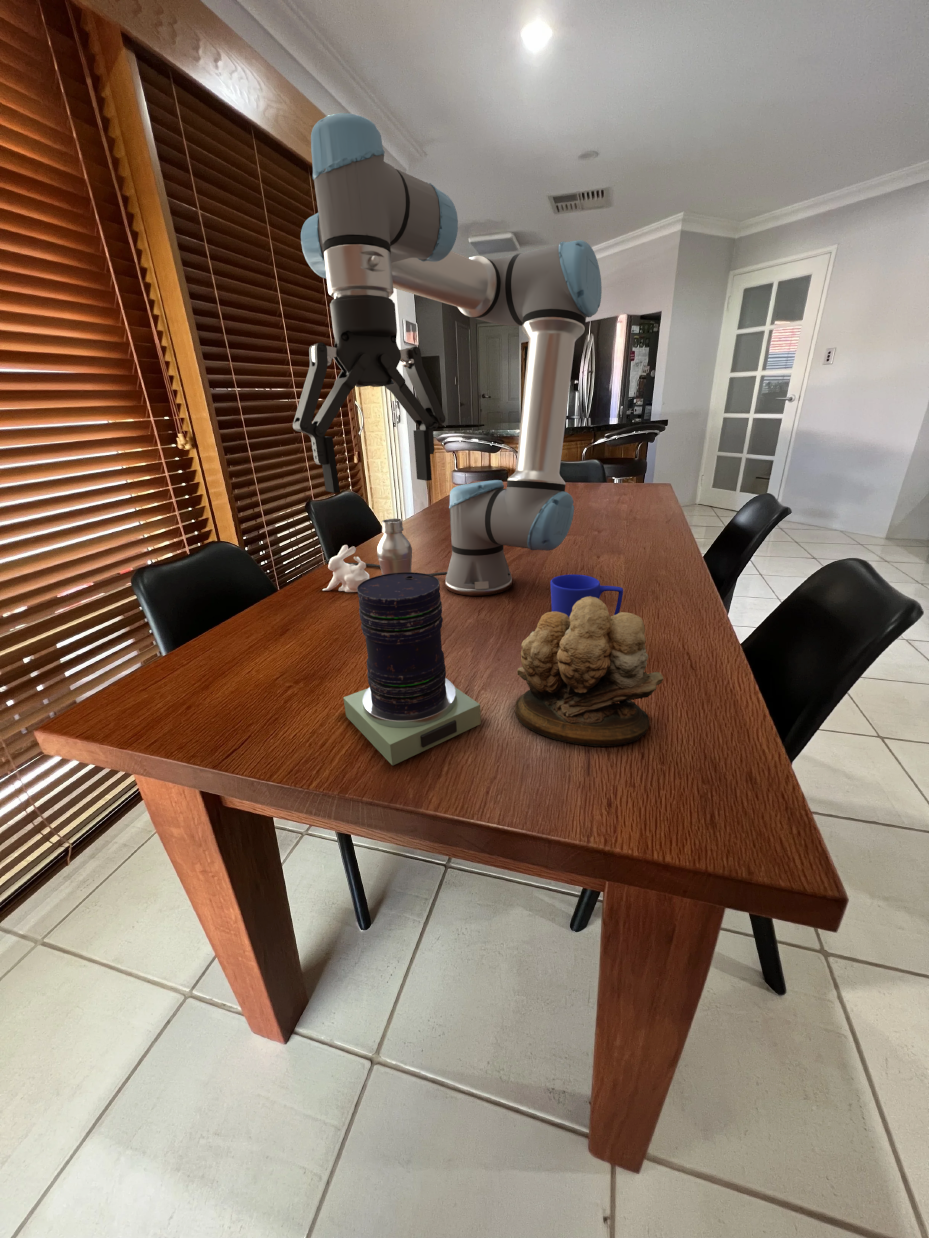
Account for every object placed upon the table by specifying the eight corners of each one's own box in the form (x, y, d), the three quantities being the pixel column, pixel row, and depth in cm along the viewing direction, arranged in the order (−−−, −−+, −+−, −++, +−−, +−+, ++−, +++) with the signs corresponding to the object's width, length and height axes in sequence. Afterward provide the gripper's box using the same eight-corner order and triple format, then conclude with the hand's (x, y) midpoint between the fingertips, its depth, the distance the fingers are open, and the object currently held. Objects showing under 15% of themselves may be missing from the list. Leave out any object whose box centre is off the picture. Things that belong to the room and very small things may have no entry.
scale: (345, 716, 67) (342, 697, 66) (427, 684, 74) (425, 666, 73) (393, 767, 57) (391, 746, 56) (482, 725, 64) (482, 705, 63)
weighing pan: (348, 697, 66) (347, 691, 65) (424, 669, 72) (424, 663, 72) (391, 740, 57) (390, 733, 56) (474, 704, 63) (474, 697, 63)
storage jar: (427, 722, 58) (418, 603, 52) (355, 708, 61) (339, 595, 56) (458, 681, 67) (453, 575, 61) (393, 670, 70) (382, 569, 64)
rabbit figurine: (320, 591, 115) (314, 550, 111) (337, 580, 122) (332, 542, 118) (367, 594, 112) (362, 553, 108) (382, 583, 118) (377, 544, 114)
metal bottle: (424, 619, 97) (416, 517, 89) (409, 633, 91) (400, 525, 84) (394, 616, 99) (384, 516, 91) (378, 629, 93) (366, 524, 86)
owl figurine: (655, 703, 67) (670, 584, 60) (657, 758, 57) (677, 621, 50) (523, 686, 72) (524, 575, 66) (504, 734, 62) (503, 607, 55)
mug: (620, 647, 83) (626, 591, 79) (547, 643, 85) (549, 588, 81) (617, 627, 90) (621, 575, 86) (549, 624, 92) (551, 573, 89)
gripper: (261, 280, 48) (298, 500, 57) (467, 301, 62) (472, 477, 70) (242, 295, 54) (278, 494, 62) (434, 312, 67) (442, 473, 76)
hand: (381, 485), depth 66 cm, fingers open, 13 cm apart
